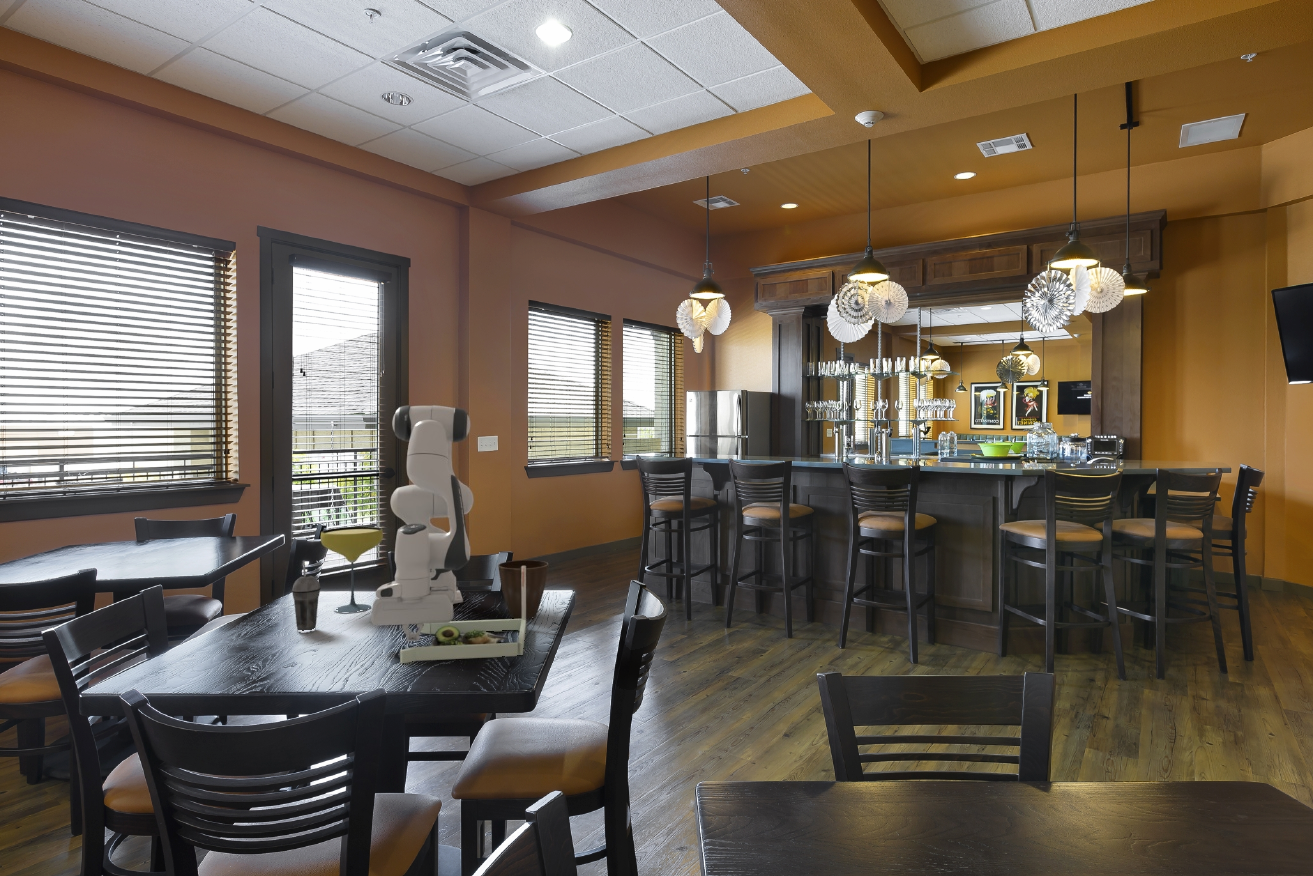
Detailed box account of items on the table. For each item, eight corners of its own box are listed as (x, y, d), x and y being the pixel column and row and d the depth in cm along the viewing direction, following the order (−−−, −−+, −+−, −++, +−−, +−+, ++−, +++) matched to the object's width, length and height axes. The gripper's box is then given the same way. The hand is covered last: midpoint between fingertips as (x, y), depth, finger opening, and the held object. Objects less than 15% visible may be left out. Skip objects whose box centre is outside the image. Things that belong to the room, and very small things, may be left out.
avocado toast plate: (508, 635, 195) (508, 618, 195) (505, 655, 178) (505, 637, 178) (436, 638, 192) (436, 621, 192) (425, 659, 174) (425, 640, 174)
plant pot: (509, 609, 222) (509, 559, 222) (555, 611, 220) (554, 560, 220) (490, 622, 207) (490, 568, 207) (538, 624, 205) (538, 569, 205)
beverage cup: (326, 627, 202) (325, 557, 202) (311, 634, 195) (310, 562, 195) (302, 627, 203) (301, 557, 203) (286, 634, 195) (285, 562, 195)
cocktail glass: (325, 604, 229) (325, 528, 229) (385, 600, 235) (384, 525, 235) (316, 618, 212) (316, 535, 212) (381, 613, 217) (380, 532, 217)
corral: (420, 631, 198) (420, 567, 198) (526, 627, 202) (526, 564, 202) (399, 664, 170) (399, 589, 170) (522, 658, 174) (522, 585, 174)
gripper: (455, 583, 188) (455, 635, 189) (375, 586, 185) (375, 638, 185) (452, 588, 182) (452, 642, 182) (369, 591, 179) (369, 645, 179)
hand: (413, 640), depth 184 cm, fingers closed
